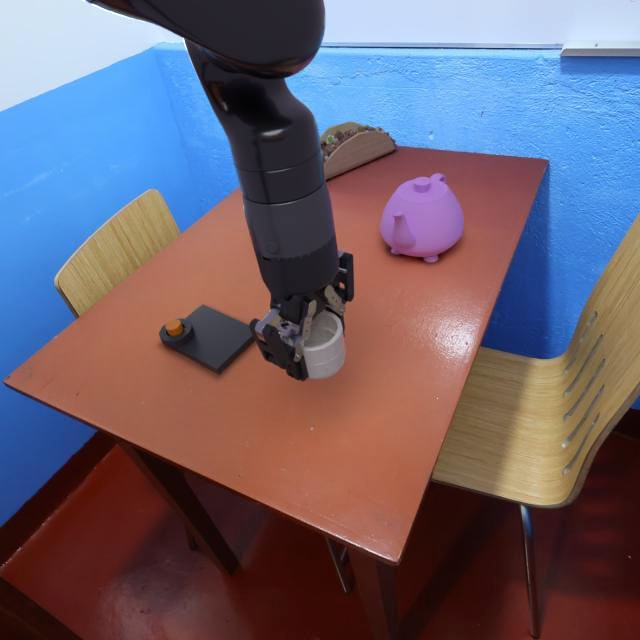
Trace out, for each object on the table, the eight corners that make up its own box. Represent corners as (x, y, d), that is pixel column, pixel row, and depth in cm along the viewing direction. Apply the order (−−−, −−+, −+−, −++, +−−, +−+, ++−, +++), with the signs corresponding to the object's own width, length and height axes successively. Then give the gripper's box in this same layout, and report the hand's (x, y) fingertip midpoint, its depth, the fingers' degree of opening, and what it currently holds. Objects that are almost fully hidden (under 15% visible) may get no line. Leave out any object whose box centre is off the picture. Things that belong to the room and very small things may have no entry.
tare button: (175, 338, 78) (172, 331, 77) (165, 333, 79) (162, 326, 78) (186, 328, 79) (183, 322, 78) (176, 323, 81) (173, 317, 80)
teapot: (434, 290, 82) (437, 222, 73) (357, 270, 89) (350, 205, 80) (478, 226, 94) (485, 160, 85) (406, 212, 102) (406, 151, 92)
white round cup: (324, 390, 50) (318, 358, 47) (281, 367, 53) (272, 337, 50) (357, 352, 53) (353, 321, 50) (314, 334, 57) (308, 302, 53)
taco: (298, 179, 120) (291, 140, 113) (381, 144, 129) (379, 106, 122) (318, 192, 114) (312, 152, 107) (404, 154, 122) (404, 115, 115)
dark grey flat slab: (215, 378, 74) (210, 365, 72) (159, 346, 81) (152, 334, 79) (260, 335, 80) (256, 322, 78) (203, 309, 87) (198, 297, 85)
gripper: (308, 185, 47) (328, 308, 59) (205, 262, 40) (251, 386, 51) (371, 200, 44) (380, 329, 55) (270, 288, 36) (304, 416, 47)
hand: (318, 356), depth 53 cm, fingers closed on white round cup, 6 cm apart
